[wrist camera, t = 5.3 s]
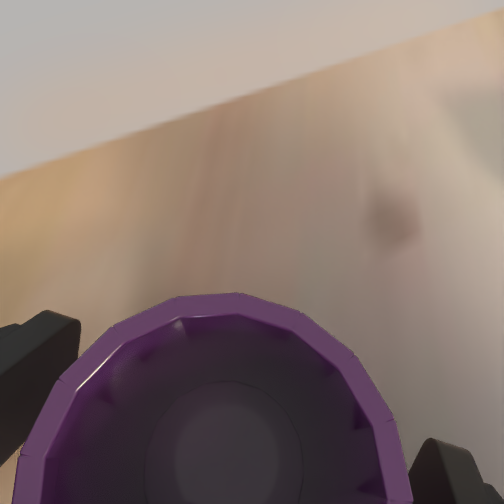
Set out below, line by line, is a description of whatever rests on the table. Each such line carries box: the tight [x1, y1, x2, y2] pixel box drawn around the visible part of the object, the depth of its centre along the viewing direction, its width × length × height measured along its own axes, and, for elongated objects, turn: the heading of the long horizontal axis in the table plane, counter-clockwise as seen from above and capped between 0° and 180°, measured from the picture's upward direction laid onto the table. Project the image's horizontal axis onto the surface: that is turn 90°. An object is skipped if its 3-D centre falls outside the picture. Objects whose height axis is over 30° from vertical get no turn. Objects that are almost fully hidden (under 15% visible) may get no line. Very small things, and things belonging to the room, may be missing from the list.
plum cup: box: [12, 292, 413, 504], centre depth 9 cm, size 6×6×8 cm
